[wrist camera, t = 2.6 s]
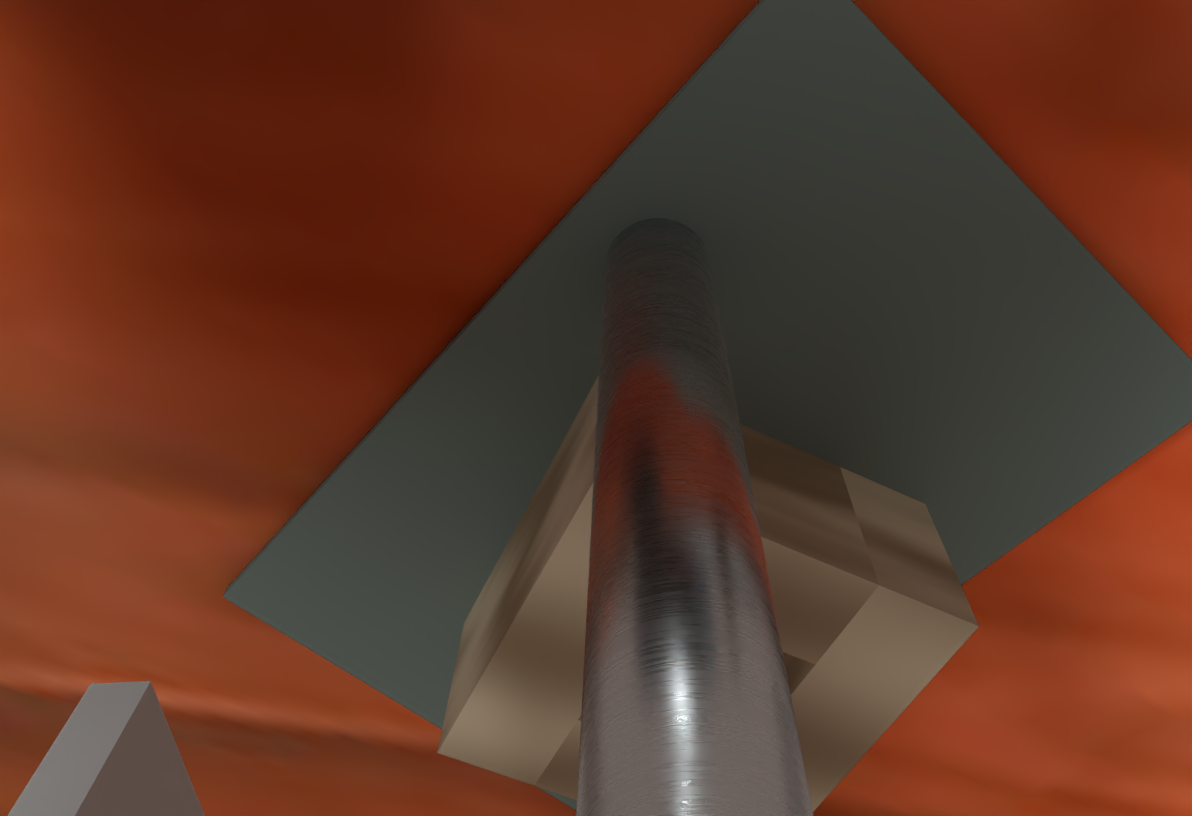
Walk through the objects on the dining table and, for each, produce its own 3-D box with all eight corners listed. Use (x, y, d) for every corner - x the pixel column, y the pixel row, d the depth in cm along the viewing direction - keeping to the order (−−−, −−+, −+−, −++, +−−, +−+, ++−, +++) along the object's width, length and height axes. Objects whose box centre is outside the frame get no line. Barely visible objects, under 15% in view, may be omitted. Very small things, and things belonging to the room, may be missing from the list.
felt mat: (805, -49, 22) (807, -47, 21) (1218, 389, 27) (1226, 396, 26) (226, 588, 31) (222, 596, 31) (613, 823, 36) (613, 832, 36)
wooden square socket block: (604, 364, 26) (600, 470, 22) (925, 503, 28) (978, 626, 24) (463, 623, 31) (437, 752, 27) (748, 727, 33) (766, 864, 29)
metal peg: (633, 200, 24) (644, 881, 9) (728, 245, 25) (902, 966, 9) (587, 290, 25) (523, 1031, 10) (679, 331, 26) (756, 1099, 10)
